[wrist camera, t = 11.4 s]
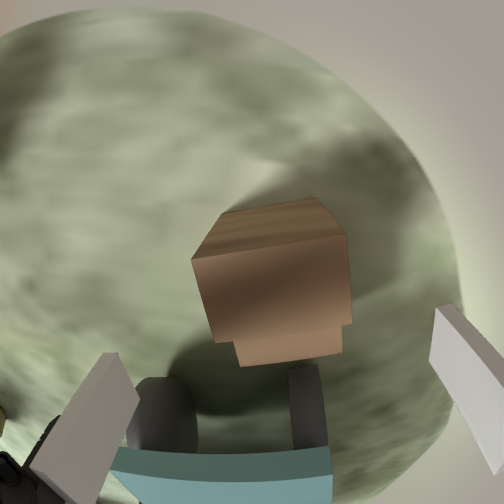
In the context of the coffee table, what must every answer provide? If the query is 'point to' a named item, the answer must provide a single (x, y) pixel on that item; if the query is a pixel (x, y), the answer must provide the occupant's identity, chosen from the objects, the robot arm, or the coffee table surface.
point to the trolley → (223, 465)
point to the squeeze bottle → (2, 421)
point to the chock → (276, 282)
